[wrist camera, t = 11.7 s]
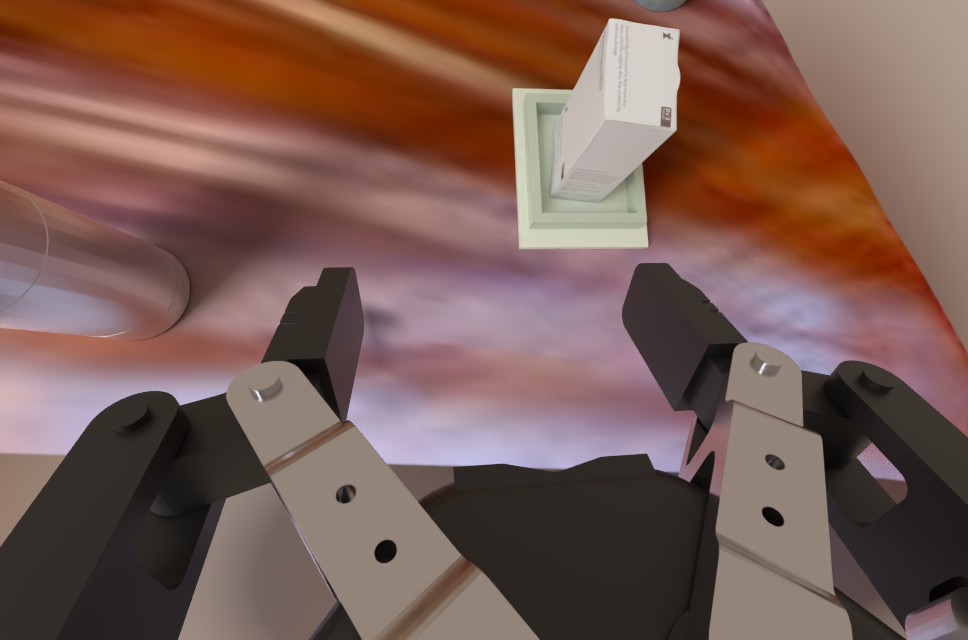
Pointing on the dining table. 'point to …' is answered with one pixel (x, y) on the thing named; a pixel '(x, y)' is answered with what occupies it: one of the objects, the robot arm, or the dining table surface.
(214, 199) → the dining table surface
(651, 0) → the grey plant pot
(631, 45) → the skincare box
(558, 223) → the tray
